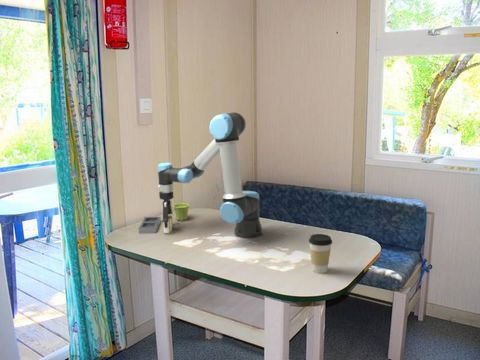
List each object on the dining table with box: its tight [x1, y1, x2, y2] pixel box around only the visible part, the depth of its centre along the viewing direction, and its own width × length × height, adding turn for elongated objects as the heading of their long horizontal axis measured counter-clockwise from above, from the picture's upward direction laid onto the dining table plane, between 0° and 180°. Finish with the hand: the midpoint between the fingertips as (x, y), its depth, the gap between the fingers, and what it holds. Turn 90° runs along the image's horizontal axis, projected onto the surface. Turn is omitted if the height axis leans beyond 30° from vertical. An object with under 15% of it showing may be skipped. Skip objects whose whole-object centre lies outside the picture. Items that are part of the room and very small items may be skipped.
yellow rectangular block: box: [162, 215, 174, 232], centre depth 252 cm, size 4×4×7 cm
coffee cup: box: [308, 233, 333, 274], centre depth 194 cm, size 10×10×15 cm
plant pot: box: [173, 202, 190, 222], centre depth 269 cm, size 9×9×9 cm
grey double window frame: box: [138, 216, 162, 234], centre depth 256 cm, size 9×20×3 cm, turn 2°
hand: (167, 229), depth 252 cm, fingers open, 12 cm apart
